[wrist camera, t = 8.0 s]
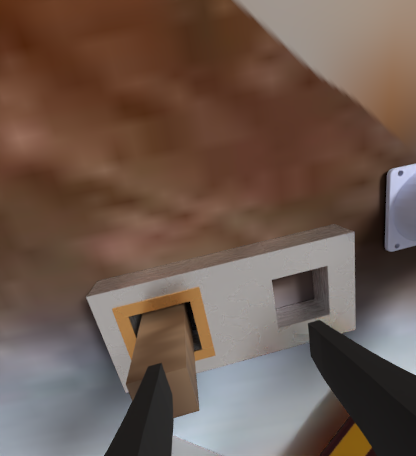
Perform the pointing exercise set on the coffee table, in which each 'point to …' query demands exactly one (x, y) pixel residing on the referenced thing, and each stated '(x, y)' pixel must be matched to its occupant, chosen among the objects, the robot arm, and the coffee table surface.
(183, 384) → the walnut peg
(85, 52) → the coffee table surface
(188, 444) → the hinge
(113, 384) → the coffee table surface
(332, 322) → the peg-in-hole board
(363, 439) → the decorative lantern
